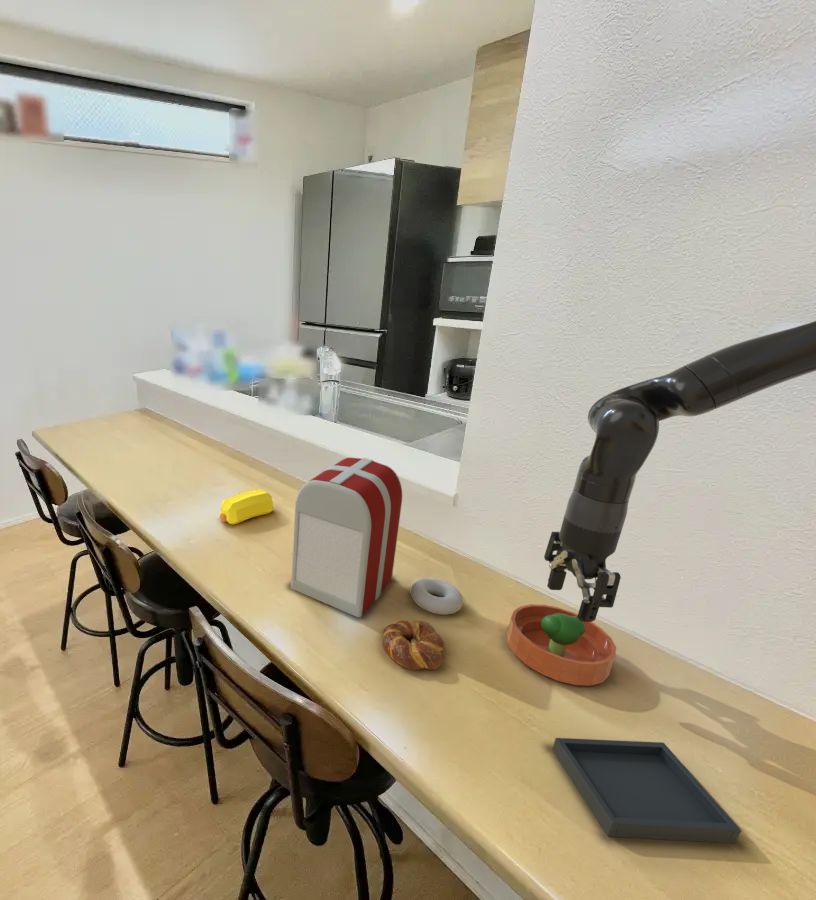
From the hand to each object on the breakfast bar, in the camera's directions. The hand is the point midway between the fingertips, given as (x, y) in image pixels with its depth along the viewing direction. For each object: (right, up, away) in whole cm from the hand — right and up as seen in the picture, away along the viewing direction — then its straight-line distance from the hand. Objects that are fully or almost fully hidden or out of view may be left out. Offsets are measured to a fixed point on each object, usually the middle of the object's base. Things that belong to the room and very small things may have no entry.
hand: (568, 603), depth 84 cm
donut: (-15, -6, +18) cm, 24 cm away
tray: (-5, -19, -20) cm, 28 cm away
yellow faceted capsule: (-52, +8, +55) cm, 76 cm away
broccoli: (0, -10, +3) cm, 10 cm away
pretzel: (-25, -10, +5) cm, 27 cm away
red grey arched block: (-33, -3, +25) cm, 41 cm away
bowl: (0, -10, +4) cm, 11 cm away
